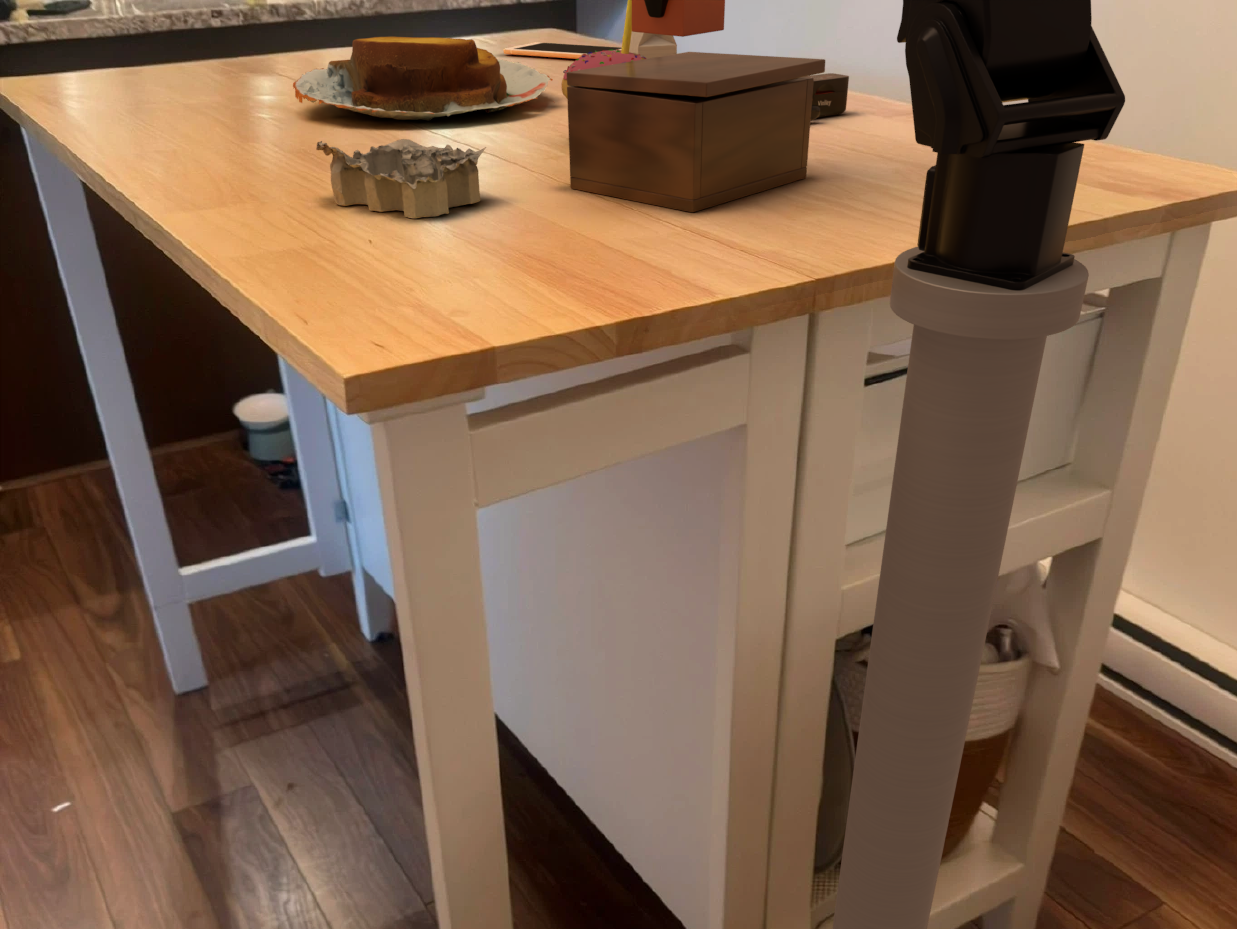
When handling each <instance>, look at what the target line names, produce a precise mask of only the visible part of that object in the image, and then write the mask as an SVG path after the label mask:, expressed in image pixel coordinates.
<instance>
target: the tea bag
mask: <svg viewBox="0 0 1237 929" xmlns="http://www.w3.org/2000/svg"><path fill="white" fill-rule="evenodd" d="M622 41H623V36H622V37H621V42H622ZM629 52H631V53H637V54H640V55H643V56H644V57H645V58H647V59H649V58H655V57H661V56H667V55H673V54H678V44H677V42H676V39H675V36H671V35H661V34H651V33H641V32H632V34H631V41H630V49H629ZM643 56H642V57H643Z"/></svg>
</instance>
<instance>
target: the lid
mask: <svg viewBox="0 0 1237 929" xmlns="http://www.w3.org/2000/svg"><path fill="white" fill-rule="evenodd" d="M825 72H826V59H825V58H824V59H823V58H810V57H809V58H807V57H789V56H772V55H771V56H770V55H757V54H756V55H752V54H736V53H721V52H720V53H719V52H702V51H701V52H700V51H686V52H679V53H677V54H673V55H667V56H661V57H655V58H649V59H643V60H637V61H631V62H625V63H619V64H613V65H607V66H602V67H596V68H590V69H584V70H578V71H572V72H567V85H568V86H579V87H591V88H602V89H614V90H626V91H638V92H650V93H662V94H673V95H685V96H697V97H710V96H715V95H719V94H724V93H729V92H734V91H738V90H743V89H748V88H753V87H757V86H762V85H767V84H772V83H777V82H781V81H786V80H791V79H796V78H800V77H805V76H811V75H819V74H825Z"/></svg>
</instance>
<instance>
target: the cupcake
mask: <svg viewBox="0 0 1237 929" xmlns="http://www.w3.org/2000/svg"><path fill="white" fill-rule="evenodd" d="M631 34H632V0H627V3H626V12H625V19H624V28H623V34H622V37H623V41H622V40H621V47H622V49H621V50H619V49H616V50H613V49H610V50H608V51H604V50H603V51H600V52H597V51H595V53H592V52H589V53H588V54H582V56H580V57H579V58H578V59H575V60H574V61H573V62H572V63H571V64H570V65H568V66H567V68H566V69H565V70H563V71H562V73H563V77H562V79H561V86H560V87H561V93H562V94H563V96H564V97H565V99H567V87H568V85H567V72H572V71H578V70H584V69H590V68H596V67H602V66H607V65H613V64H619V63H625V62H631V61H637V60H643V59H647V58H645V57H644V56H643V55H640V54H637V53H631V52H629V49H630V41H631ZM642 56H643V57H642Z"/></svg>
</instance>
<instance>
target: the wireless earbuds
mask: <svg viewBox="0 0 1237 929" xmlns="http://www.w3.org/2000/svg"><path fill="white" fill-rule="evenodd" d="M805 77H808V78H814V80H813V94H812V107H811V120H810V121H813V120H816V119H817V118H823V117H831V116H838V115H842V114H844V113H845V112H846V110H847V102H848V93H849V92H848V91H849V81H850V76H849V75H846V74H841V73H834V72H833V73H831V72H830V73H829V72H828V73H819V74H815V75H810V76H805Z"/></svg>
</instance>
